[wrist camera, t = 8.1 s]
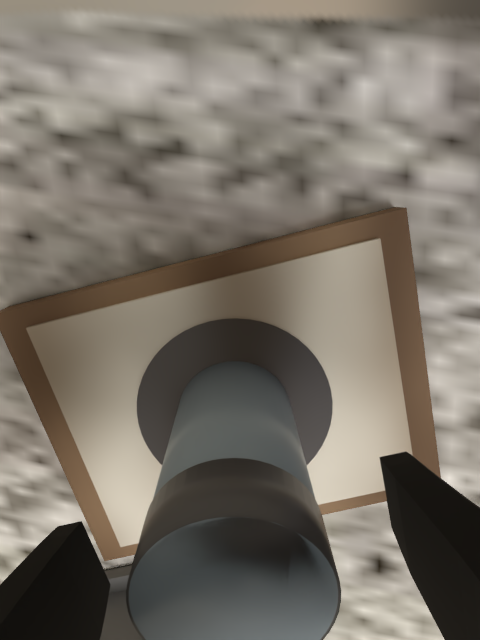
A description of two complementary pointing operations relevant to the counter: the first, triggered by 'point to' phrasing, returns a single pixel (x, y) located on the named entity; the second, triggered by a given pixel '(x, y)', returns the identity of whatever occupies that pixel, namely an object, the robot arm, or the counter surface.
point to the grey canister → (233, 522)
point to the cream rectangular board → (234, 345)
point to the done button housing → (118, 608)
